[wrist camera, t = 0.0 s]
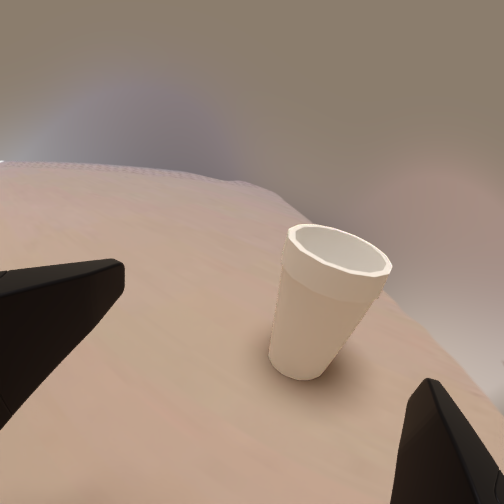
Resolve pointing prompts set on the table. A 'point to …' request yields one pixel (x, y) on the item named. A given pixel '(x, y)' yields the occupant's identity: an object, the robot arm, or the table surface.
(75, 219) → the table surface
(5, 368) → the robot arm
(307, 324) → the foam cup
